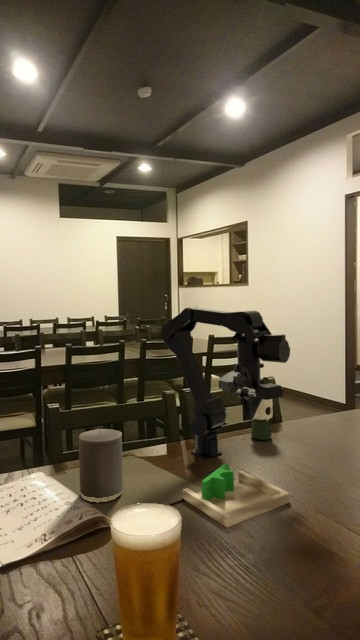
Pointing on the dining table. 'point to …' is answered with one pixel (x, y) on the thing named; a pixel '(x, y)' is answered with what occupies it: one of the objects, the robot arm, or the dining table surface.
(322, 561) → the dining table surface
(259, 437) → the character mug
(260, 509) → the corral
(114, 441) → the pillar candle
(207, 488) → the pipe clamp
